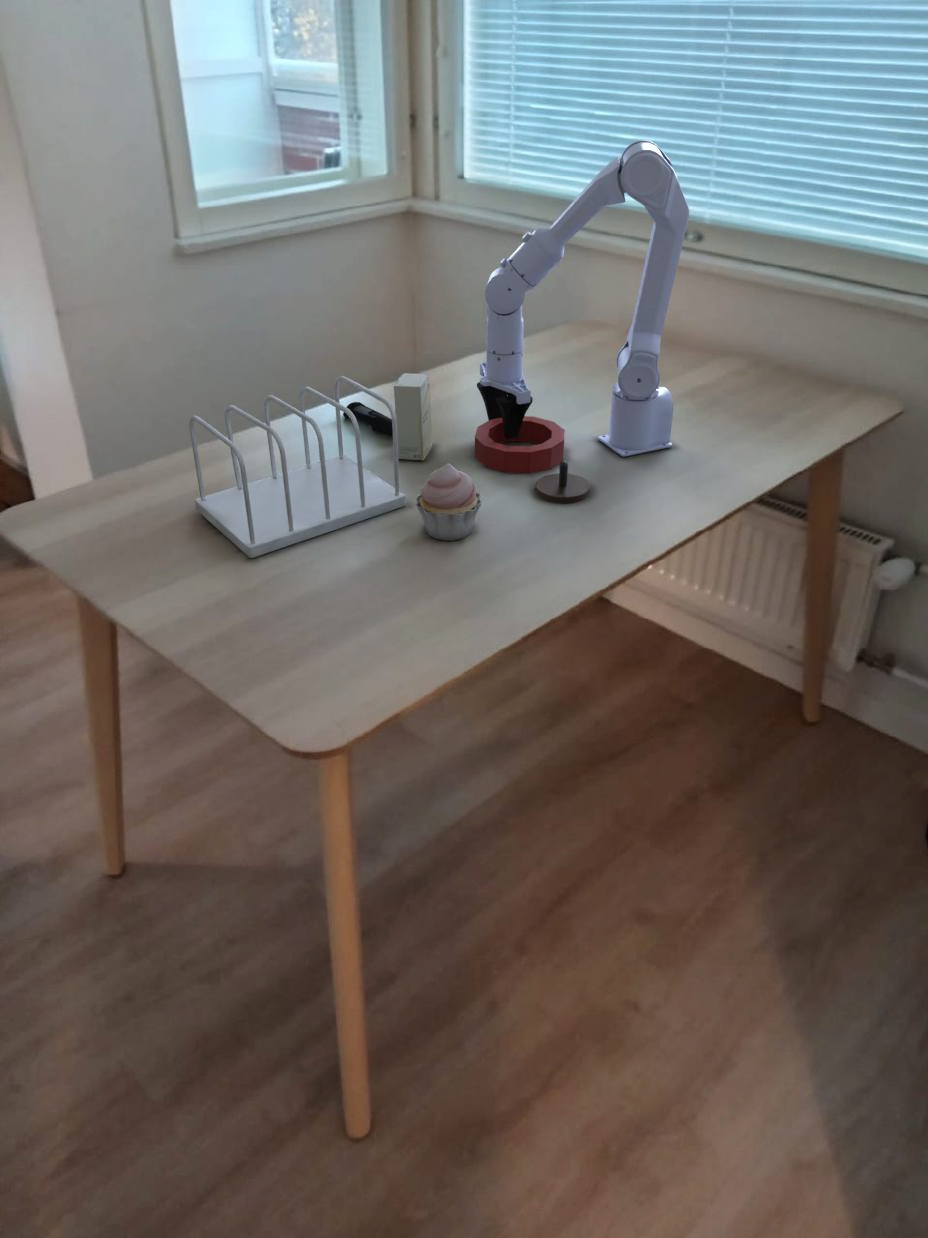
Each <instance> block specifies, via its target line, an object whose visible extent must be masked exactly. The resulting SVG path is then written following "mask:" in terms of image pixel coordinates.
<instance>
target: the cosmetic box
mask: <svg viewBox="0 0 928 1238" xmlns="http://www.w3.org/2000/svg"><path fill="white" fill-rule="evenodd" d="M430 388H431V387H430V374H428V373H414V372H413V373H412V372H403V373H402V374H401V375H400V376H399V378H398V379H397V381H396V382H395V384H394V385H393V394H394V395H393V397H394V410H395V413H396V417H397V432H398V460H408V461H425V459H426V457H427V456H428V455H429V453H430V450H431V449H432V447H433V429H432V428H433V427H432V409H431V407H432V406H431V389H430Z"/></svg>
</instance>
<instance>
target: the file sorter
mask: <svg viewBox="0 0 928 1238" xmlns="http://www.w3.org/2000/svg"><path fill="white" fill-rule="evenodd" d="M341 381H342V382H344V383H346V384H347V385H350V386H351V387H354V388H356V389H358V390H359V391H361V392H363V393H365V394H367V395H369V396H370V397H372V398H373V399H376V401H377V400H378V401H379V402H381V403H382V404H384V405H385V406H386V407H387V409H388V410H389V411H388V412H389V413H390V416H391V419H392V428H393V437H392V453H393V457H392V458H393V485H394V486H393V485H392V484H391V485H390V484H389V483H388V482H386V481H385V480H383V478H382V479H381V478H380V477H378V476H377V475H376V474H374V473H372V471H370V470H368V469H367V468H365V467H364V466H363V458H362V457H363V456H362V443H361V432H360V426H359V423H358V422H359V421H357V420H356V418H355V416H354V414H353V413H352V412H351V411H350V410H349V409H348V408H346V407H347V406H345V405H343V404H341V403H340V382H341ZM333 386H334V387H333V388H334V389H333V391H334V399H332V398H330V397H328V396H326V395H325V394H323V393H322V392H321V393H320V392H319V391H318V390H316V389H314V388H312V387H310V386H303V387H301V389H300V391H299V409H300V410H299V409H297V408H296V407H294V406H292V405H290V404H289V403H287V402H285V401H284V400H282V399H280V398H278V397H276V396H275V395H272V394H269V395H267V396H266V397H265V398H264V400H263V412H264V413H263V414H264V421H265V422H262V421H261V420H259V419H258V418H257V417H255V416H253V415H251V414H249V413H248V412H246V411H244V410H242V409H241V408H239V407H237V406H235V405H234V404H229V405H227V406H226V407H225V409H224V420H225V427H226V433H227V437H226V436H225V435H224V434H222V433H221V432H220V431H219V430H218V429H216V428H214V427H213V426H212V425H211V424H209V423H208V422H206V421H205V420H204V419H203V418H201V417H200V416H198V415H192V416H190V417H189V421H188V428H189V435H190V441H191V446H192V454H193V459H194V465H195V471H196V472H195V473H196V478H197V483H198V490H199V491H198V492H199V496H200V497H198V498H195V499H194V503H195V504H194V506H195V510H196V511H197V512H198V513H199V514H201V515H202V516H203V517H204V518H205V519H206V520H207V521H208V522H209V523H211V525H213V527H215V528H216V529H217V530H218V531H219V532H220V533H221V534H223V535H224V536H225V537H226V538H227V539H228V540H230V542H232V543H233V544H234V545H235V546H236V547H237V548H238V549H239V550H241V552H243V554H244V555H246V556H247V557H248V558H250V559H254V558H257V557H259V556H263V555H265V554H268V553H271V552H274V551H277V550H280V549H283V548H285V547H288V546H291V545H295V544H297V543H300V542H303V541H306V540H310V539H312V538H315V537H319V536H321V535H324V534H327V533H330V532H333V531H335V530H339V529H341V528H345V527H347V526H351V525H353V524H356V523H358V522H362V521H365V520H367V519H370V518H373V517H376V516H380V515H382V514H386V513H388V512H390V511H393V510H396V509H400V508H403V507H406V506H407V498H406V494H404V493H403V492H401V491H400V473H399V472H400V471H399V466H400V465H399V459H398V432H397V417H396V413H395V407H394V406H393V404H392V403H391V401H390V400H389V399H388V398H386V397H384V396H383V395H381V394H379V393H377V392H375V391H373V390H371V389H369V388H368V387H366V386H364V385H362V384H360V383H358V382H356V381H355V380H352V379H351V378H349V377H347V376H345V375H341V376H340V375H339V376H338V377H336V379H335V381H334V385H333ZM306 392H308V393H309V394H311V395H313V396H314V397H316V398H318V399H320V400H322V401H323V402H325V403H327V404H329V405H330V406H332V407H335V419H336V420H335V421H336V431H337V445H338V455H337V456H335V457H332V458H328V459H326V456H325V446H324V439H323V435H322V432H321V429H320V427H319V425H318V423H317V422H316V421H315V419H313V418H312V417H311V416H309V415H308V414H306V407H305V393H306ZM270 401H272V402H273V403H275V404H277V405H279V406H280V407H281V408H283V409H286V410H287V411H289V412H291V413H292V414H294V415H296V416H297V417H299V418H300V419H301V427H302V436H303V444H304V445H303V446H304V447H303V448H304V455H305V456H304V457H305V464H306V465H305V466H300V467H297V468H294V469H291V470H288V466H287V465H288V464H287V457H286V450H285V447H284V444H283V441H282V438H281V437H280V435H279V434H278V432H277V431H276V430H275V429H274V428H273V427H271V425H272V424H271V420H270V419H271V418H270V408H269V403H270ZM231 411H232V412H234V413H236V414H237V415H239V416H241V417H243V418H244V419H246V420H248V421H249V422H251V423H253V424H254V425H256V426H257V427H259V428H261V429H263V430H264V431H266V436H267V443H268V444H267V445H268V452H269V458H270V459H269V460H270V467H271V474H272V475H271V476H267V477H263V478H261V479H258V480H257V479H256V480H254V481H250V482H248V477H247V476H248V475H247V470H246V465H245V460H244V458H243V455H242V453H241V451H240V449H239V448H238V446H237V445H236V444H235V441H234V436H233V431H232V425H231V416H230V413H231ZM341 412H343V413H344V412H345V413H346V414H347V415H348V416H349V417H350V419H349V420H351V423H352V426H353V430H354V437H355V450H356V461H357V462H356V461H354V460H353V459H351V458H349V457H348V456H347V455H344V447H343V446H344V445H343V432H342V418H341ZM195 422H196V423H198V424H199V425H200V426H201V427H203V428H204V429H206V430H207V431H208V432H210V433H211V434H212V435H213V436H215V437H216V438H218V439H219V440H220V441H222V442H223V443H224V444H225V445H227V446H228V447H229V450H230V454H231V460H232V467H233V471H234V477H235V482H236V486H234V487H231V488H227V489H224V490H220V491H217V492H213V493H211V494H207V495H205V489H204V488H205V487H204V480H203V476H202V468H201V463H200V456H199V449H198V443H197V438H196V430H195ZM307 423H309V424H310V426H311V427H312V428H313V430H314V432H315V434H316V439H317V444H318V454H319V455H318V456H319V461H318V462H315V463H311V455H310V446H309V445H310V444H309V437H308V436H309V435H308V428H307ZM273 438H274V440H275V442H276V444H277V447H278V450H279V451H278V452H279V457H280V465H281V473H277V467H276V458H275V453H274V452H275V451H274V441H273Z"/></svg>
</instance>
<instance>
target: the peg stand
mask: <svg viewBox="0 0 928 1238" xmlns="http://www.w3.org/2000/svg"><path fill="white" fill-rule="evenodd" d="M590 492H591V485H590V482H589V481H588V480H587V479H586V478H584V477H582V476H580V475H577V474H573V473H569V463H568V462H567V461H566V460H563V461H562V462H560V463H559V472H558V473H550V474H546V475H543V476H541V477H540V478H539V479H537V481H536V483H535V493H536V495H537V496H538V497H539V498H541V499H542V500H545V501H546V502H547V501H548V502H551V503H556V504H573V503H577V502H580V501H583V500H585V499H586V498H587V497H589V496H590V494H591V493H590Z"/></svg>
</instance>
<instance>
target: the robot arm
mask: <svg viewBox="0 0 928 1238" xmlns="http://www.w3.org/2000/svg"><path fill="white" fill-rule="evenodd" d="M679 181H680V180H679V178H678V176H677V174H676V171H675V168H674V166H673V164H672V161H671V159H670V158H669V157H668V156H667V155H666V154H665V152H663V150H662V149H661V148H660V147H659V146H658V145H657V144H656V143H655V142H653V141H651V140H647V139H640V140H636V141H634V142H632V143H630V144H629V145H628V146H627V147H626V148H624V151H622V153H621V155H617V156H616V157H614V158H612V160H610V162H609V163H608V164H607V165H605V166H604V168H602V169H601V170H600V171H599V172H598V173H597V174H596V175H595V176H594V177H593V179H592V180H591V181H590V182H589V183H588V184H587V185H586V186H585V188H584V189H583V190H582V191H580V193H579V194H578V195H577V197H576V198H575V199H574V200H573V201H572V202H571V203H570V204H569V206H567V208H565V210H564V211H563V212H562V214H560V216H558V218H557V219H556V220H555V221H554V222H553V223H552V224H551V226H549V227H538V228H535V229H534V230H533V232H530V231H527V232H526V233H525V234H524V235H523V236H522V238H521V239H522V240H521V241H522V243H521V244H520V245H519V246H518V247H517V248H516V249H515V251H514V252H513V253H511V255H510V256H509V257H508V258H506V257H504V258H503V259H502V260H501V261H500V263H499V266H500V267H497V268H496V269H495V270H493V271H492V273H490V275H489V278H488V280H487V284H486V287H485V291H484V295H485V296H484V297H485V302H486V304H487V308H486V314H487V318H486V328H485V329H486V330H485V331H486V333H485V334H486V339H485V340H486V344H485V345H486V347H485V348H486V350H485V351H486V355H485V356H486V359H485V361H486V362H480V363H479V375H480V376H481V377H480V378H479V382H477V383H476V387H477V389H478V391H479V393H480V396H481V397H482V400H483V404H484V407H485V410H486V415H487V419H488V420H487V421H489V420H492V419H497V418H502V421H503V431H504V436H505V438H506V439H511V438H517V437H518V435H519V432H520V428H521V425H522V421H523V418H524V416H526V414H527V411H528V410H529V408H530V407H531V405H532V404H533V399H534V398H533V396H531V392H532V391H531V390H530V389H529V388H528V386H527V382H526V379H525V377H524V375H523V373H524V372H523V371H524V366H523V365H524V330H525V329H524V325H525V323H524V322H525V321H524V320H525V319H524V317H523V304H524V302H525V297H526V293H527V292H528V291H532V290H534V289H535V288H536V287H537V286H538V285H539V284H540V282H542V281H543V280H544V279H545V277H546V276H548V274H550V273H551V271H553V270H554V269H555V267H556V266H557V265H558V264H559V263H560V262H561V261H562V260H563V259H564V256H565V245H566V243H568V242H569V241H570V240H571V239H572V238H573V237H575V235H576V234H578V232H579V231H581V230H582V229H583V228H584V227H585V226H586V225H587V223H589V222H590V221H591V220H592V219H593V218H594V217H595V216H596V215H597V214H598V213H599V212H600V211H602V209H603V208H605V207H606V206H611V205H618V204H624V203H626V196H625V194H627V196H629V197H630V198H632V199H633V200H634V201H636V202H638V204H641V205H642V206H643V207H644V208H645V210H646V211H647V213H648V214H649V216H650V217H651V218H652V219H653V223H652V229H651V234H650V237H649V241H648V242H649V243H648V247H647V252H646V256H645V260H644V265H643V271H642V275H641V279H640V284H639V289H638V294H637V297H636V298H637V299H636V303H635V307H634V313H633V317H632V321H631V326H630V327H629V330H628V333H627V337H626V341H625V343H624V345H623V346H622V347H621V348H620V350H619V352H618V353H617V356H616V368H617V373H618V376H617V382H616V383H614V385H613V386H612V392H611V393H612V394H611V408H610V418H609V431H608V434H607V433H606V434H603V435H598V437H597V440H599V441H600V443H603V444H604V445H606V446H607V447H608V448H610V449H611V450H612V451H614V452H615V453H617V455H619V456H621V457H623V458H624V457H630V456H635V455H639V454H645V453H649V452H653V451H657V450H663V449H669V448H672V447H673V443H672V442H671V434H672V425H673V417H674V399H673V397H672V394H671V392H670V391H669V389H667V388H666V387H664V386H659V385H660V383H661V382H660V381H661V373H660V371H659V365H658V363H659V358H660V353H661V341H662V334H663V330H664V325H665V321H666V318H667V313H668V310H669V309H668V308H669V304H670V301H671V300H670V299H671V296H672V291H673V287H674V282H675V278H676V274H677V271H678V267H679V266H678V265H679V262H680V257H681V253H682V249H683V245H684V240H685V236H686V233H687V232H686V231H687V227H688V223H689V219H690V207H689V204H688V203H687V202H688V201H687V199H686V196H685V195H684V192H683V189H682V187H681V184H680V182H679Z"/></svg>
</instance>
